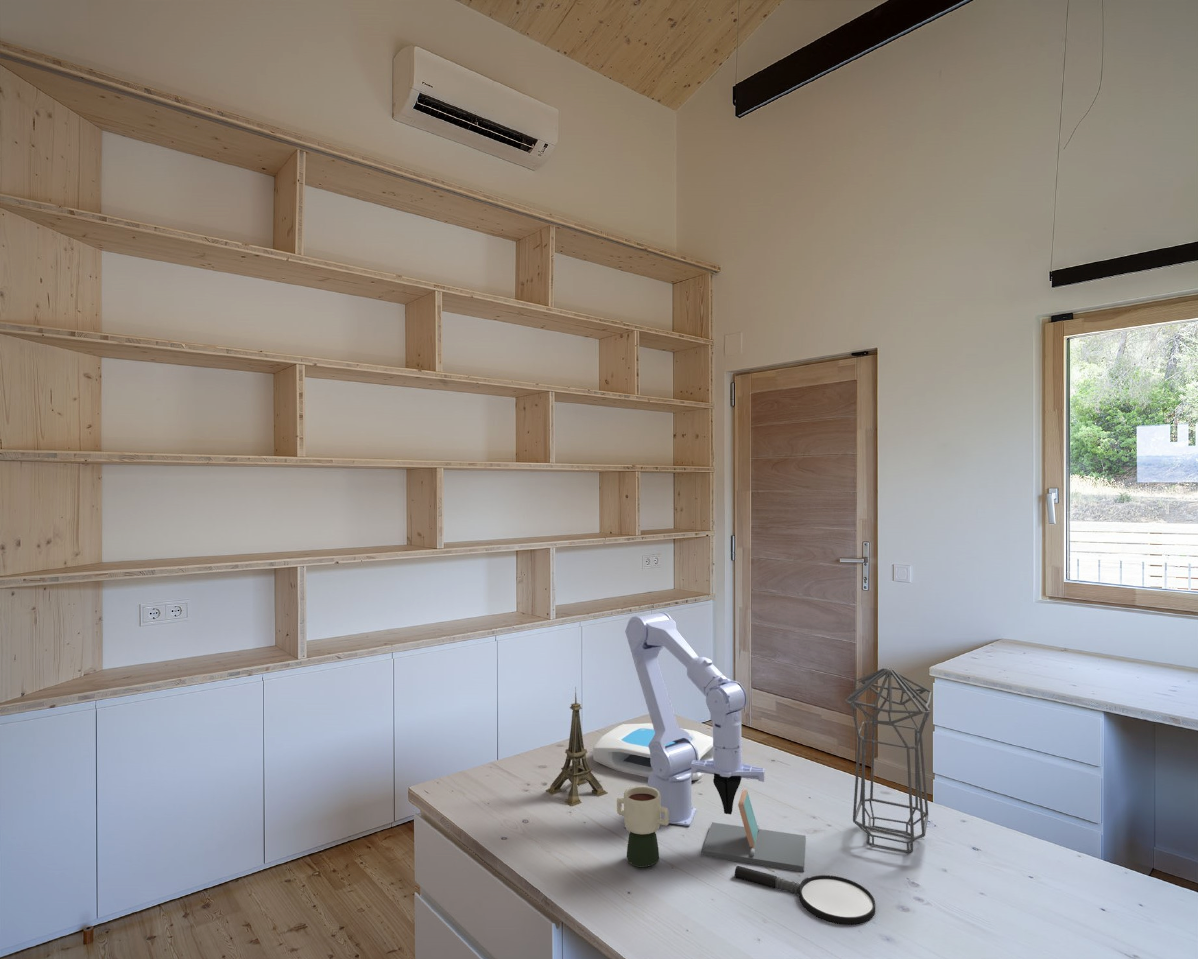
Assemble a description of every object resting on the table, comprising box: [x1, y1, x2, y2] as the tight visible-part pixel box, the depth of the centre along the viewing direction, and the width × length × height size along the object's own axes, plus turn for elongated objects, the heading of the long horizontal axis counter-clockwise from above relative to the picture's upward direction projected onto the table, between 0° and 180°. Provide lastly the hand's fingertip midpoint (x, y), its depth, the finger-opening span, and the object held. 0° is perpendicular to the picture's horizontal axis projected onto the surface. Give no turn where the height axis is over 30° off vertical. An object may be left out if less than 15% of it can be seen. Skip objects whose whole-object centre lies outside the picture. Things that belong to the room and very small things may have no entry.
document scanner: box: [592, 722, 713, 782], centre depth 180 cm, size 21×28×6 cm
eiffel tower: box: [545, 686, 609, 807], centre depth 162 cm, size 11×11×25 cm
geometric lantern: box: [844, 667, 933, 854], centre depth 138 cm, size 16×16×35 cm
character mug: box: [616, 785, 670, 868], centre depth 131 cm, size 11×7×13 cm, turn 62°
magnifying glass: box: [734, 865, 877, 926], centre depth 120 cm, size 12×24×2 cm, turn 61°
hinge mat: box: [701, 822, 807, 873], centre depth 135 cm, size 19×12×2 cm, turn 71°
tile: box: [737, 789, 759, 847], centre depth 136 cm, size 8×7×1 cm
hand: (728, 811), depth 137 cm, fingers closed
